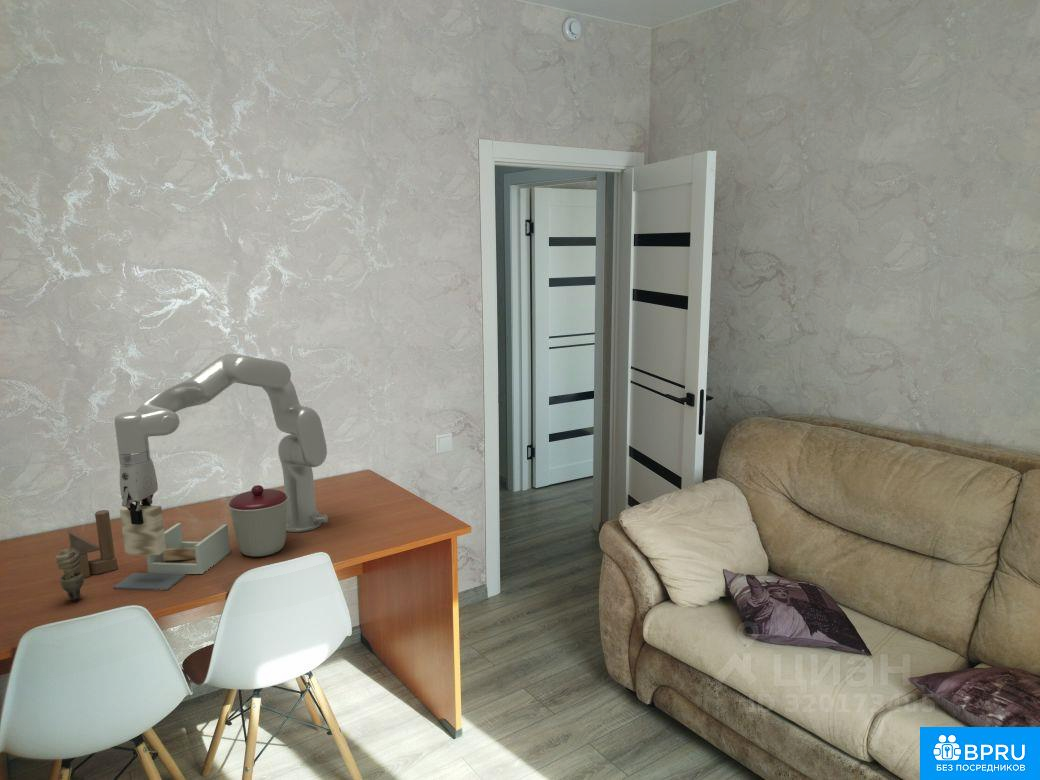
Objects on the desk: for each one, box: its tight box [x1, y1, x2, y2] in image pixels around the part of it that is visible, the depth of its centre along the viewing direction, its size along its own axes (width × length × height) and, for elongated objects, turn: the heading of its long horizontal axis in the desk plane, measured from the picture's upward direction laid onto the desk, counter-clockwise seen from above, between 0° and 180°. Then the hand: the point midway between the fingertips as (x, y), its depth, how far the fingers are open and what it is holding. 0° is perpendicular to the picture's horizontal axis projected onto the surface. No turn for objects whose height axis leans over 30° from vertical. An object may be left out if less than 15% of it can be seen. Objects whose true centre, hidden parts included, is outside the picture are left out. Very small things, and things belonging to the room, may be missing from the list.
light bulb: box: [55, 547, 85, 602], centre depth 195 cm, size 6×6×15 cm
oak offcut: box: [163, 547, 196, 561], centre depth 216 cm, size 10×4×3 cm, turn 108°
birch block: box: [119, 505, 166, 555], centre depth 203 cm, size 10×4×13 cm, turn 84°
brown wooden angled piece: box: [67, 509, 119, 579], centre depth 212 cm, size 4×11×18 cm, turn 129°
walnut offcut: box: [160, 559, 197, 564], centre depth 214 cm, size 12×4×3 cm, turn 84°
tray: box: [146, 522, 231, 575], centre depth 219 cm, size 16×17×9 cm
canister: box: [226, 484, 289, 558], centre depth 225 cm, size 18×18×21 cm
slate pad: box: [112, 572, 187, 591], centre depth 206 cm, size 16×9×1 cm, turn 84°
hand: (142, 520), depth 203 cm, fingers closed on birch block, 3 cm apart
